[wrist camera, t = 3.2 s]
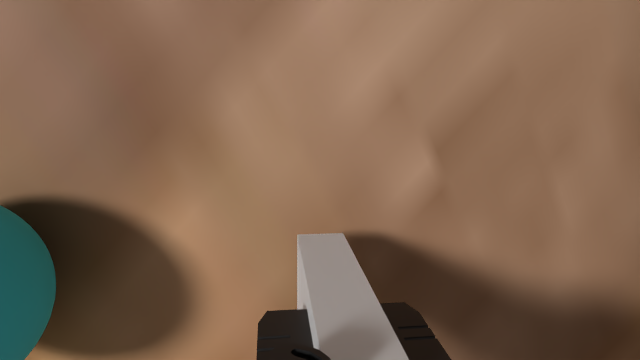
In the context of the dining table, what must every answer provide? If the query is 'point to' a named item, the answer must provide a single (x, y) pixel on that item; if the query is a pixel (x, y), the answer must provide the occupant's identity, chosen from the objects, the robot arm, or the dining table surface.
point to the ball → (23, 286)
